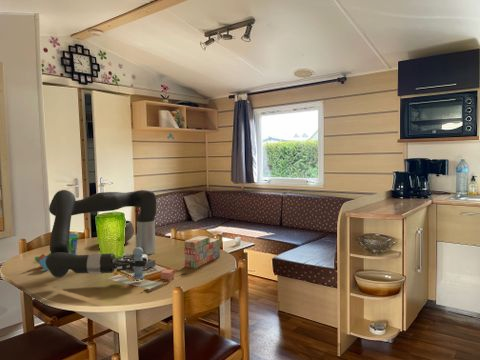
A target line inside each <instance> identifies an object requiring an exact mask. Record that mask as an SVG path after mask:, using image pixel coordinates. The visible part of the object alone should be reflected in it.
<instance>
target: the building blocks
mask: <svg viewBox="0 0 480 360" xmlns="http://www.w3.org/2000/svg"><path fill="white" fill-rule="evenodd" d="M49 255H51V252H49V253H48V254H47V255H46V254H45V253H42V254H41V255H40V256H38V255H37V256H35V257H34V260H35V261H36V262H37V263H38V265H40V267H42V269H43V270H44V271H49V269H48V268H47V266H46V263H45V262H46V258H47V257H48V256H49Z"/></svg>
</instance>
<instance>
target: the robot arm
mask: <svg viewBox="0 0 480 360" xmlns="http://www.w3.org/2000/svg"><path fill="white" fill-rule="evenodd" d="M126 207H129V208H131V207H137V208H140V213H139V214H138V215H137V216H136V235H135V248H136V247H140V248H142V249H143V254H146V255H153V254H155V253H156V225H155V223H156V222H155V219H156V214H157V197H156V194H155V193H154V192H153V191H151V190H146V189H145V190H143V189H140V190H134V191H128V192H121V191H120V192H119V191H105V192H98V193H94V194H92V195H90V196H87V197H85V198H82V199H77V200H76V195H74V193H73V192H71V191H70V190H66V189H61V190H60V189H59V190H58V191H57V192H56V193H55V194H54V195H53V197H52V199H51V201H50V203H49V206H48V211H49V213H50V214H51V215H53V216H54V222H53V225H52V229H51V233H50V241H49V251H50V252H49V253H51V255H49V256H48V257H47V258H46V262H45V263H46V266H47V268H48V271H49V272H50V274H51V275H52V276H53V277H55V278H62V277H64V276H65V275H67V274H68V272H69V270H71V271H72V272H74V273H75V274H113V273H114V272H115V270H116V271H117V272H121V271H128V270H131V269H133V268H135V266H136V267H144V266H145V264H146V263H147V258H142V260H143V261H134V255H122V256H119V257H117V258H116V256H115V254H114V253H95V254H94V253H93V254H79V255H78V254H70V253H69V250H68V248H69V235H70V234H71V233H70V232H71V231H70V230H71V221H72V216H76V215H82V214H89V213H90V214H91V213H98V212H113V211H117V210H119V209H122V208H126ZM132 260H133V261H132ZM126 266H127V267H126Z"/></svg>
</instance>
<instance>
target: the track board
mask: <svg viewBox="0 0 480 360" xmlns="http://www.w3.org/2000/svg"><path fill="white" fill-rule="evenodd" d="M120 274H121V273H119V274H116V275H114V276H111V277H108V278H107V280H108V281H113V282H117V283H121V284H126V285H130V286H135V287H139V288H143V289H144V290H143V292H146V293H151V292H153V291H155V290H157V289H160V288H162V287H164V282H163V283H162V282H157V281H154V280H149V279H145V278H143V280H139V281H136V280H135V281H133V280H130V279H128V278H127V277H124V276H122V275H123V274H122V275H120Z"/></svg>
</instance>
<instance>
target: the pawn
mask: <svg viewBox="0 0 480 360" xmlns="http://www.w3.org/2000/svg"><path fill="white" fill-rule="evenodd" d="M132 253H133V255H132V256H134V261H143V260H142V255H143V249H142V248H140V247H136V246H135V247H134V249H133V250H132ZM133 271H134V272H133V275H132V277H133V279H135V281H136V280H140V279H145V274H144V273H143V272H144V271H143V267H136V266H135V268H134V270H133Z"/></svg>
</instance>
